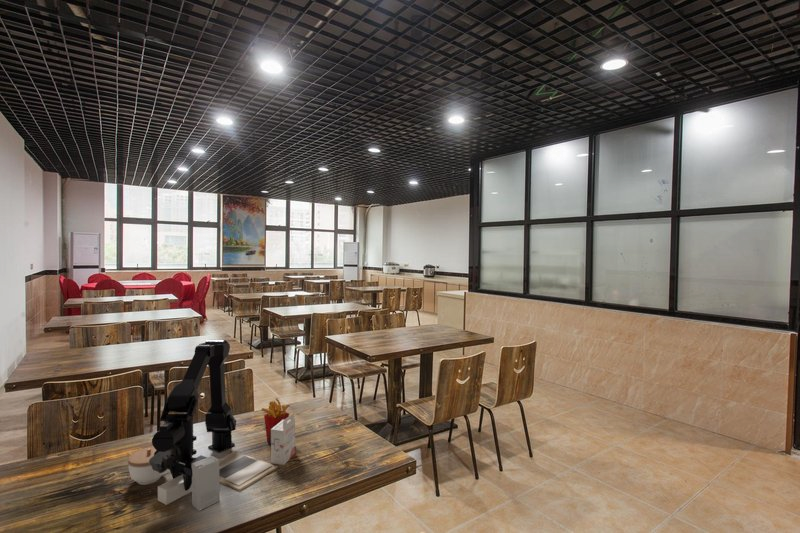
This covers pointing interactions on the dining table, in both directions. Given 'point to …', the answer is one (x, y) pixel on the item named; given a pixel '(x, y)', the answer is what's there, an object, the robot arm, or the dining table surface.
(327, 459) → the dining table surface
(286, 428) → the ink cartridge box
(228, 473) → the picture frame
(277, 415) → the french fries
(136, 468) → the lidded jar
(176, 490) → the tall cream pillar
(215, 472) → the skincare box
